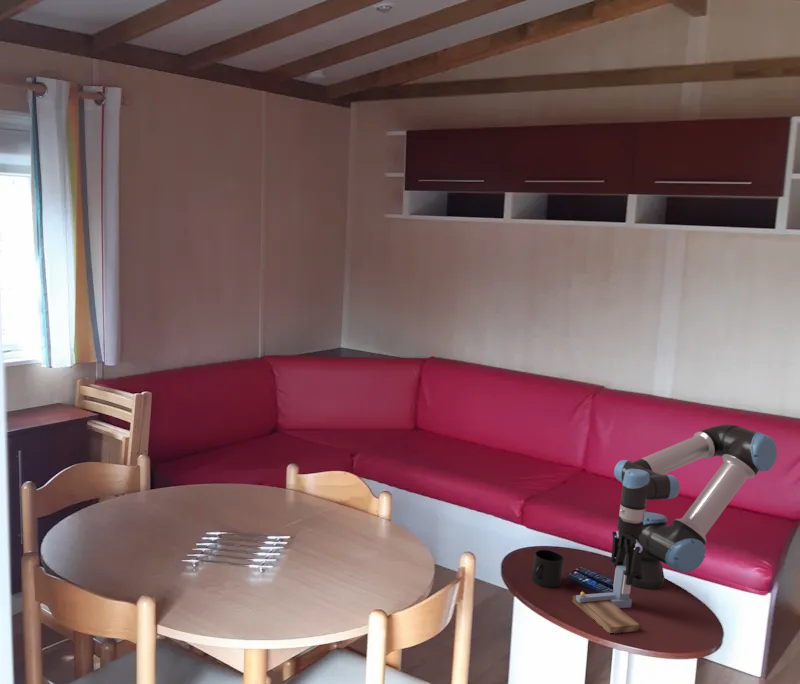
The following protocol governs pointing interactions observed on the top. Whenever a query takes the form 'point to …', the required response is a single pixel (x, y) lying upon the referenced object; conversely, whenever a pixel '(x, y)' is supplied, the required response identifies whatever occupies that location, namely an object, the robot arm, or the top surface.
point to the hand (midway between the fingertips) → (621, 590)
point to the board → (608, 616)
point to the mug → (547, 568)
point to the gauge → (614, 597)
